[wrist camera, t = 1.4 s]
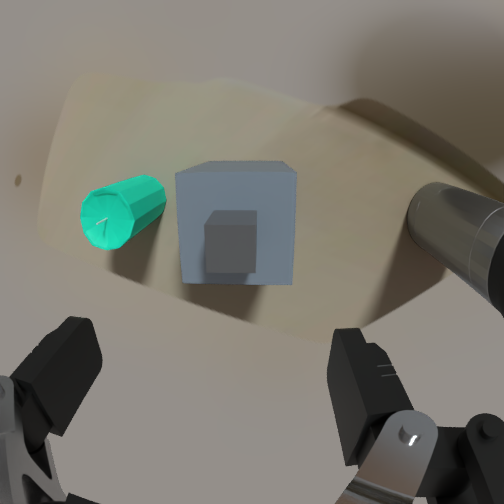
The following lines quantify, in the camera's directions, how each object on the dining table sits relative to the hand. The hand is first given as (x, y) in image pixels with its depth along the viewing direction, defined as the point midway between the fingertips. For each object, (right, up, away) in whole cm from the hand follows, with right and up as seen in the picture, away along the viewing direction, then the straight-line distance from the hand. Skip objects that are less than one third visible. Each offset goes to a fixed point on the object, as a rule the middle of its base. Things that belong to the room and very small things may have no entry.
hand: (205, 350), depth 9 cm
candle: (-12, +10, +27) cm, 31 cm away
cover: (+1, +9, +26) cm, 28 cm away
